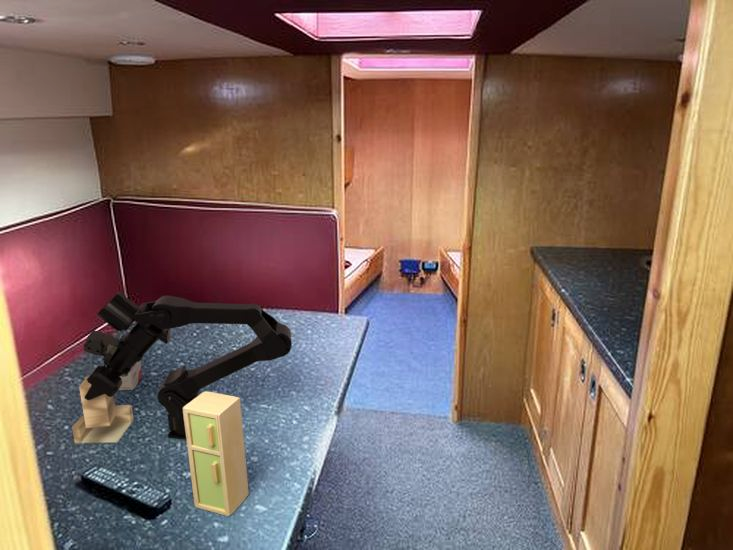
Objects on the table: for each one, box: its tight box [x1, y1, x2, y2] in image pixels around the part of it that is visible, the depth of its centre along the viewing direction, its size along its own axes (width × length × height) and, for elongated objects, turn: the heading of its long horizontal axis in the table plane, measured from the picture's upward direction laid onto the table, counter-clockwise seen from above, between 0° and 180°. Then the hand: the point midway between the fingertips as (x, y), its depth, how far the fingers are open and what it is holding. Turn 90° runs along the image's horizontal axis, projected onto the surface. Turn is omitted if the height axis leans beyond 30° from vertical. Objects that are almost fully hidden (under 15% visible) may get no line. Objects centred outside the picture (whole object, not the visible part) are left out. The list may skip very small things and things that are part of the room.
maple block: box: [78, 375, 116, 428], centre depth 123 cm, size 5×5×10 cm
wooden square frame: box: [71, 404, 134, 444], centre depth 128 cm, size 10×10×4 cm
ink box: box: [118, 360, 143, 391], centre depth 150 cm, size 9×5×12 cm, turn 6°
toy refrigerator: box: [183, 390, 250, 517], centre depth 102 cm, size 8×7×21 cm
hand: (90, 392), depth 123 cm, fingers closed on maple block, 5 cm apart
